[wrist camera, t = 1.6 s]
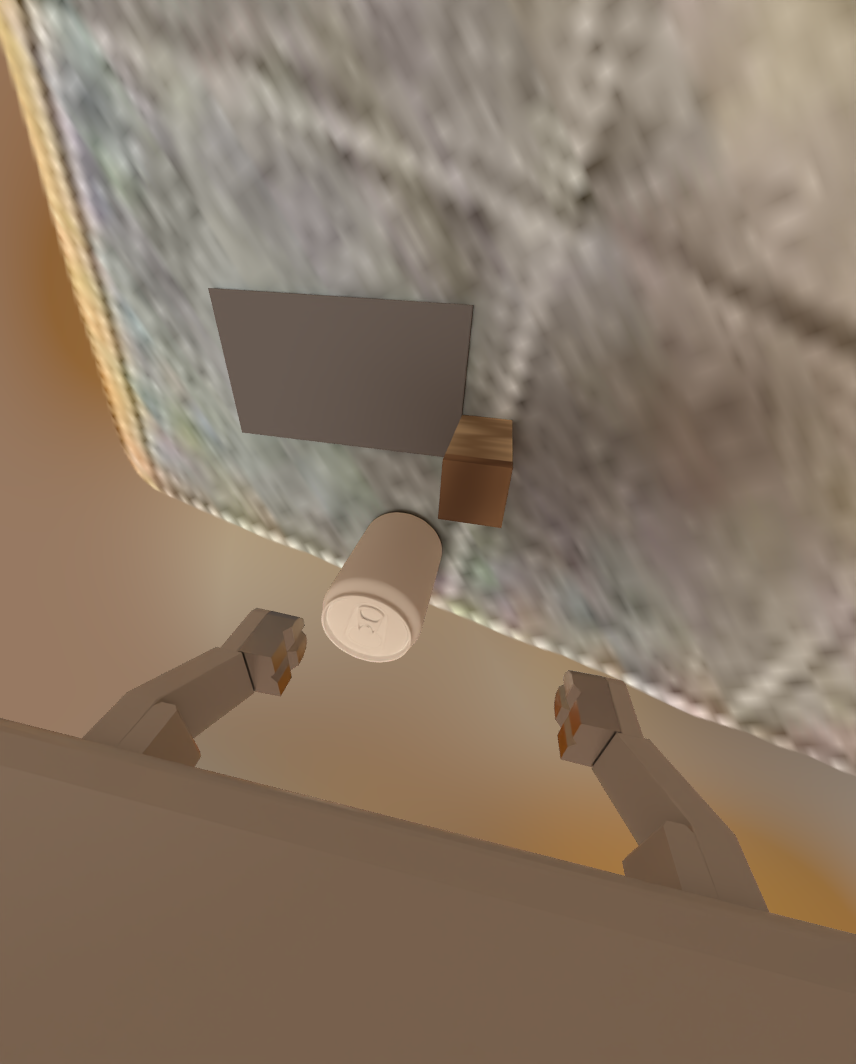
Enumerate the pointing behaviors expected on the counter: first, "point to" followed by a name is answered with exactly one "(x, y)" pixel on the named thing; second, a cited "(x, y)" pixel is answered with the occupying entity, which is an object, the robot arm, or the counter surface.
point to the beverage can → (383, 589)
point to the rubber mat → (346, 368)
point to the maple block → (477, 471)
